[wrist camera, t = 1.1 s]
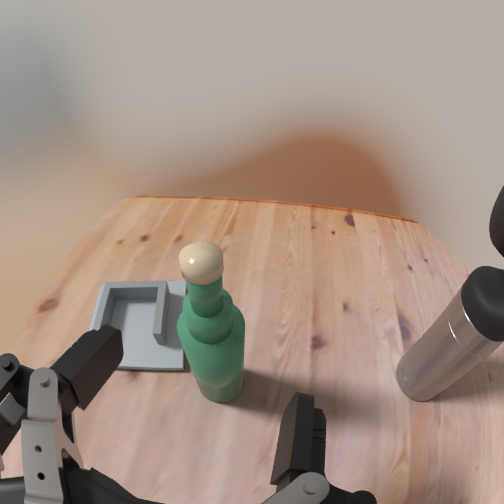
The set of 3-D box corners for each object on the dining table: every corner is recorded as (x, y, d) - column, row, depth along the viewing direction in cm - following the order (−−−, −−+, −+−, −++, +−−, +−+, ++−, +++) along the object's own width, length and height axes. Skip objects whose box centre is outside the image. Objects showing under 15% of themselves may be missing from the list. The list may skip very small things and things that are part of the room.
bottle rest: (187, 284, 46) (183, 268, 43) (184, 370, 34) (178, 358, 31) (104, 286, 44) (96, 271, 41) (84, 365, 32) (72, 352, 30)
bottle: (241, 361, 36) (242, 226, 20) (245, 401, 31) (252, 288, 16) (198, 363, 35) (162, 230, 19) (199, 403, 31) (149, 293, 15)
